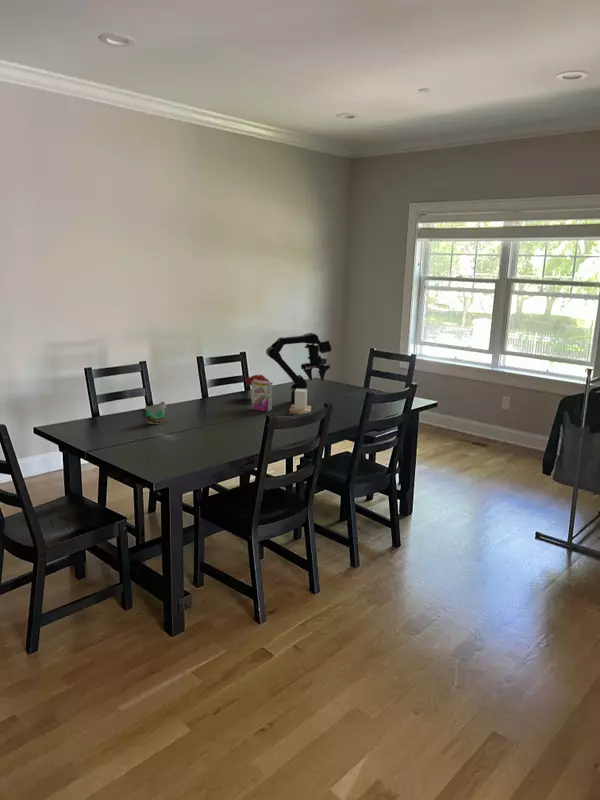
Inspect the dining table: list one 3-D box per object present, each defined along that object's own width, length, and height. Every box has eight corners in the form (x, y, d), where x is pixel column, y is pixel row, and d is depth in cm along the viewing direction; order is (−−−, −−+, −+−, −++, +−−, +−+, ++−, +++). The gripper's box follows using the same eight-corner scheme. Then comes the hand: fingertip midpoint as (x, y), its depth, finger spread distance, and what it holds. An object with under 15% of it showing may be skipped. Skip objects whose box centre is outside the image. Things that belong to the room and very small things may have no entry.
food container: (154, 427, 310) (153, 407, 307) (145, 425, 313) (144, 405, 311) (171, 421, 320) (171, 403, 318) (162, 419, 323) (162, 401, 321)
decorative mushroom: (259, 394, 383) (259, 370, 379) (277, 399, 372) (277, 375, 369) (239, 398, 372) (239, 374, 368) (257, 403, 361) (257, 378, 358)
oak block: (291, 409, 353) (291, 404, 352) (310, 410, 352) (311, 405, 351) (289, 414, 342) (289, 409, 341) (309, 415, 341) (309, 410, 340)
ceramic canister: (294, 408, 343) (294, 391, 341) (296, 405, 349) (296, 388, 346) (305, 409, 342) (305, 391, 340) (306, 406, 348) (307, 389, 346)
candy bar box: (250, 409, 348) (250, 381, 344) (254, 407, 352) (255, 379, 348) (268, 412, 343) (268, 383, 339) (272, 410, 348) (272, 381, 344)
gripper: (334, 352, 363) (337, 378, 366) (311, 351, 376) (314, 377, 379) (321, 356, 355) (324, 382, 359) (299, 355, 368) (301, 381, 372)
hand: (316, 380), depth 367 cm, fingers open, 9 cm apart
